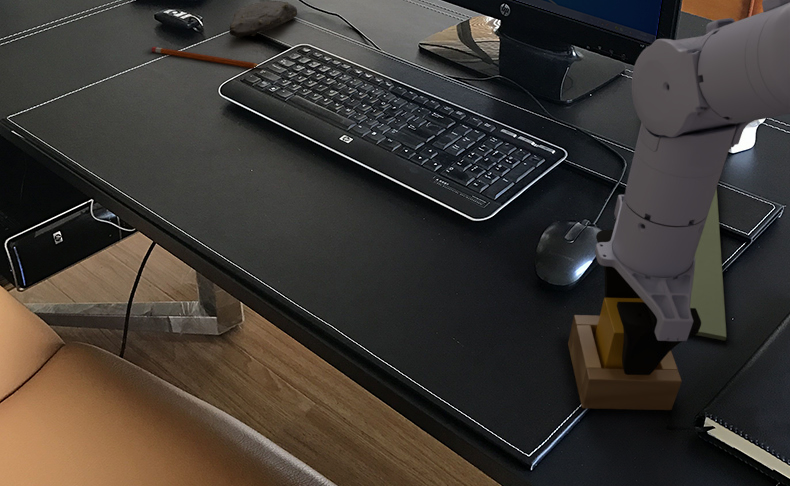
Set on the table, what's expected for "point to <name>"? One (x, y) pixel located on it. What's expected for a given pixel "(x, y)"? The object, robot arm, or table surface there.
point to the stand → (617, 376)
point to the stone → (261, 17)
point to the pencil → (204, 57)
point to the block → (611, 333)
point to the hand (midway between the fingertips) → (627, 340)
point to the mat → (709, 279)
